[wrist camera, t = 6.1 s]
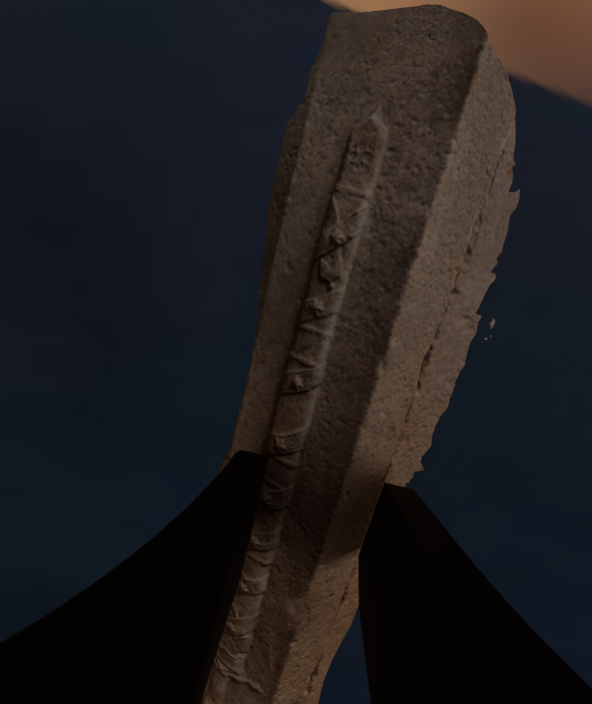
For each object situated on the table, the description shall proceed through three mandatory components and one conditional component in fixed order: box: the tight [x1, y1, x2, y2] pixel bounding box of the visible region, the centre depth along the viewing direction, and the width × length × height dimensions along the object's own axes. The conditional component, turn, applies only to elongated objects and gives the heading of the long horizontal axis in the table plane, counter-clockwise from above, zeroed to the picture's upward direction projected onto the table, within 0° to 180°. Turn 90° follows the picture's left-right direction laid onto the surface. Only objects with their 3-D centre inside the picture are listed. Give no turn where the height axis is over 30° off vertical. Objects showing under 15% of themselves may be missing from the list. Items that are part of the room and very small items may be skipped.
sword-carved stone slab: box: [201, 5, 542, 704], centre depth 10 cm, size 18×3×4 cm
